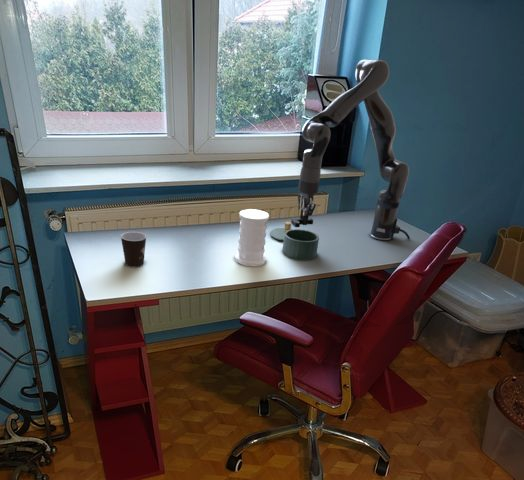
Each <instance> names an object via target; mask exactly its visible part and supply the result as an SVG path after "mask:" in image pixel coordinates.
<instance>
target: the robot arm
mask: <svg viewBox="0 0 524 480" xmlns="http://www.w3.org/2000/svg"><path fill="white" fill-rule="evenodd" d="M354 73H355V81H356V84H357V85H355V86H353V87H352V88H350V89H349V90H346V91H345V92H342V93H341V94H339V95H338V96H336V98H334V99H333V100H332V101H331V102H330V104H328V106H327V107H325V109H323V110H322V111H320V112H318V113H317V114H316V115H314V116H312V117H310V118H309V119H308V120H307V121H306V122H305V123H304V125H303V127H302V130H301V135H302V138H303V139H304V140H305V141H307V142H309V143H313V145H312V147H311V148H306V149H305V150H304V152H303V155H302V163H301V169H300V173H299V181H298V186H297V191H298V192H299V193H298V194H297V208H298V211H299V219H302V224H301V225H302V226H307V225H309V224H308V219H309V216H312V215H313V213H314V211H315V209H316V206H317V204H316V203H314V195H315V194H318V192H319V187H320V180H321V175H322V172H321V170H322V169H321V168H322V162H323V157H324V154H325V152H326V149H327V147H328V145H329V143H330V140H331V129H330V128H335V127H337V126H339V124H340V123H341V122H342V121H343V120H344V119H345V118H346V117H347V116H348V115H349V114H350V113H351V112H352V111H353V110H354V109H355V108H357V106H358V105H360V104H361V103H362V102H363V103H364V107H365V111H366V114H367V118H368V123H369V127H370V131H371V134H372V138H373V142H374V147H375V151H376V154H377V161H378V168H379V174H380V177H381V178H382V179H383V180H384V181H385V182H388V186H387V188H385V189H381V190H380V191H379V193H378V198H377V203H376V207H375V212H374V216H373V221H372V225H371V230H370V234H369V235H370V237H371V238H373V239H375V240H379V241H391V240H393V239H394V235H395V234H400V232H401V233H402V234H404V235H405V236H406V238H407V239H408V240H410V238H411V237H410V235H409V233H408V232H406V230H404V229H401V226H399V225H398V224H397V223H398V217H397V215H398V210H399V206H400V202H401V199H402V197H403V194H404V193H405V190H406V186H407V183H408V179H409V175H410V167H409V165H408V164H407V163H406V162H404V161H401V160H398V159H397V158H396V156H395V153H394V148H393V144H394V141H395V138H396V134H397V128H396V127H397V126H396V122H395V118H394V115H393V112H392V111H391V109H390V107H389V105H387V103H386V102H385V100H384V99H383V98H382V96H381V95H380V93H379V90H380V89H381V88H382V87H383V86H385V84H386V82H387V81H388V80H389V77H390V67H389V64H388V62H386V61H385V60H381V59H374V58H373V59H371V58H365V59H361V60H359V62H358V63H357V64H356V67H355V72H354Z"/></svg>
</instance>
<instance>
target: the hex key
mask: <svg viewBox="0 0 524 480" xmlns="http://www.w3.org/2000/svg"><path fill="white" fill-rule="evenodd" d="M313 224H314V219H313V218H309V217H308V224H307V225H313ZM291 225H292V226H293V227H294V228H300V226H301V225H302V219H300V218H291Z"/></svg>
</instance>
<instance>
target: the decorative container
mask: <svg viewBox="0 0 524 480" xmlns="http://www.w3.org/2000/svg"><path fill="white" fill-rule="evenodd" d="M238 217H239V219H240V221H239V231H238V235H239V237H238V246H237V253H236V254H235V256H234V257H235V258H234V259H235V262H236V263H238V264H240V265H242V266H247V267H259V266H263V265H264V264H265V263H266V260H267V258H266V256H265V254H264V253H265V246H266V238H267V237H266V236H267V229H268V223H267V222H269V219H270V214H269V213H268V212H266V211H264V210H261V209H253V208H246V209H242V210H240V211H239V216H238Z"/></svg>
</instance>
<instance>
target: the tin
mask: <svg viewBox="0 0 524 480" xmlns="http://www.w3.org/2000/svg"><path fill="white" fill-rule="evenodd" d="M291 229H292V230H288V231H286V232H285V233H284V241H282V254H283V255H284V256H286V257H287V258H290V259H292V260H298V261H309V260H313V259H315V258H316V256H317V254H318V253H317V252H318V248H319V241H320V236H319V234H317V233H315V232H314V231H311V230H308V229H307V230H306V229H301V228H291Z"/></svg>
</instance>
